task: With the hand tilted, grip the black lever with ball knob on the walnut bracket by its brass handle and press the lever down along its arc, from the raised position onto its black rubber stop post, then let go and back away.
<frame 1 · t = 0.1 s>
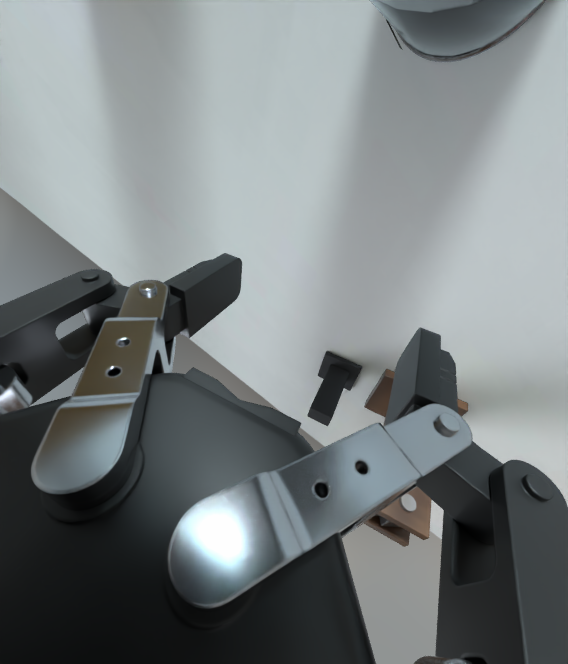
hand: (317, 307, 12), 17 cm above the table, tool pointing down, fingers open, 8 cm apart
lever with ball knob: (339, 506, 26), point 16 cm above the table, hinge at 24.0°
stop post: (339, 370, 39), on the table
lock bracket: (411, 402, 36), on the table
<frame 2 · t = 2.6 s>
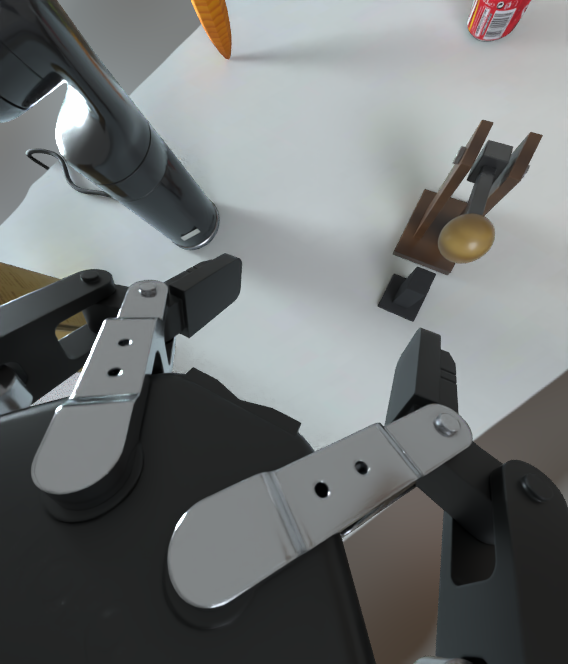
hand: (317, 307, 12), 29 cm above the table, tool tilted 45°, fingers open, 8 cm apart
lever with ball knob: (477, 199, 23), point 16 cm above the table, hinge at 24.0°
stop post: (402, 297, 38), on the table
carrot: (229, 59, 48), on the table
soda can: (488, 28, 40), on the table
food packaging: (98, 329, 48), on the table
lock bracket: (434, 233, 39), on the table
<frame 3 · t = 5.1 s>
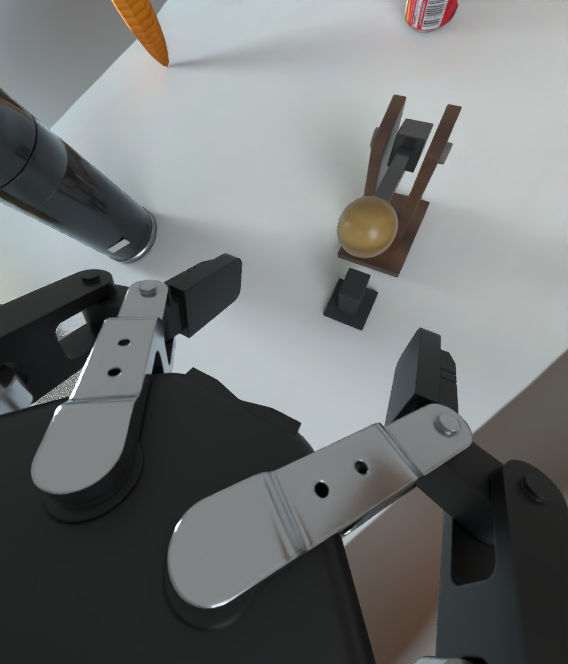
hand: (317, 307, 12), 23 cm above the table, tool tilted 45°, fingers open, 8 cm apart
lever with ball knob: (390, 183, 19), point 16 cm above the table, hinge at 24.0°
stop post: (350, 304, 35), on the table
carrot: (167, 67, 47), on the table
soda can: (428, 19, 38), on the table
lock bracket: (381, 233, 35), on the table
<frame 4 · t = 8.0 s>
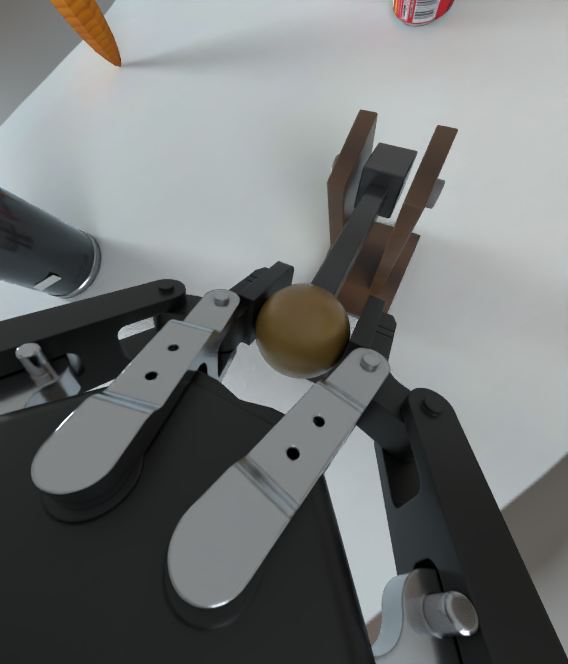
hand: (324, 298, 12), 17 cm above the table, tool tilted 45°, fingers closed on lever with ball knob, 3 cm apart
lever with ball knob: (349, 244, 13), point 16 cm above the table, hinge at 24.0°, touching gripper
carrot: (121, 67, 40), on the table
soda can: (420, 10, 32), on the table
lock bracket: (361, 270, 29), on the table
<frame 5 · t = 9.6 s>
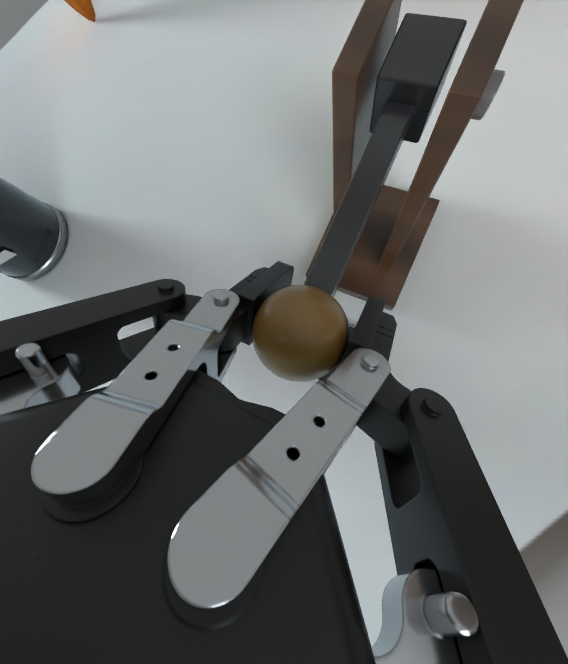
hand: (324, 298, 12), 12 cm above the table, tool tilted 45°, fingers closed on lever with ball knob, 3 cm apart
lever with ball knob: (355, 208, 10), point 14 cm above the table, hinge at 0.0°, touching gripper
carrot: (95, 22, 36), on the table
lock bracket: (369, 244, 24), on the table
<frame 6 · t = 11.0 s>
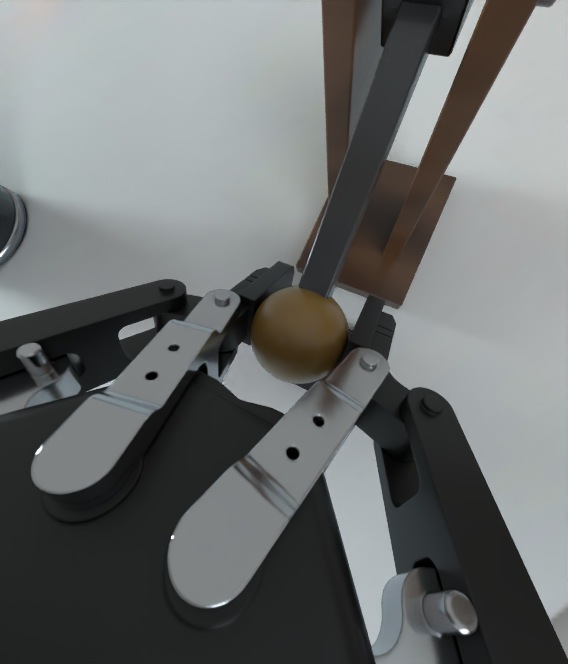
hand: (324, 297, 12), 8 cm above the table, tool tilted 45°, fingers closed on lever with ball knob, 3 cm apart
lever with ball knob: (356, 184, 9), point 12 cm above the table, hinge at -20.3°, touching gripper, stop post
lock bracket: (371, 231, 21), on the table
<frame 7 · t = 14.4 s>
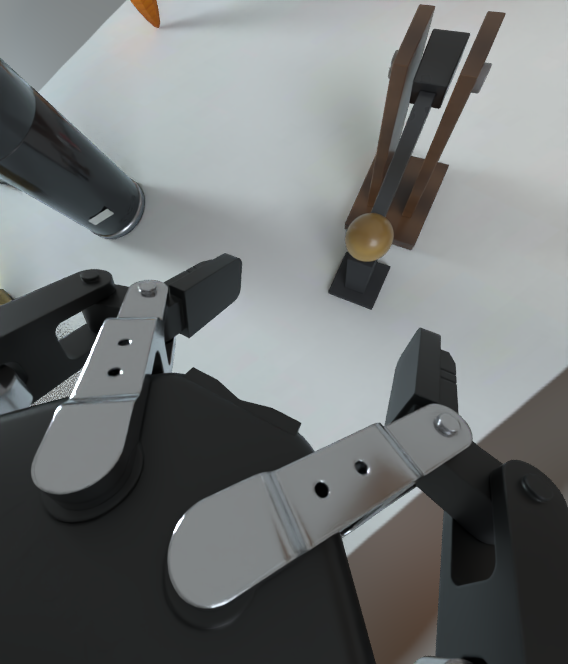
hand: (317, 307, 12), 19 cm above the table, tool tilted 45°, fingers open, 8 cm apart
lever with ball knob: (398, 164, 19), point 12 cm above the table, hinge at -20.2°
stop post: (358, 281, 31), on the table
carrot: (159, 28, 43), on the table
lock bracket: (393, 201, 31), on the table
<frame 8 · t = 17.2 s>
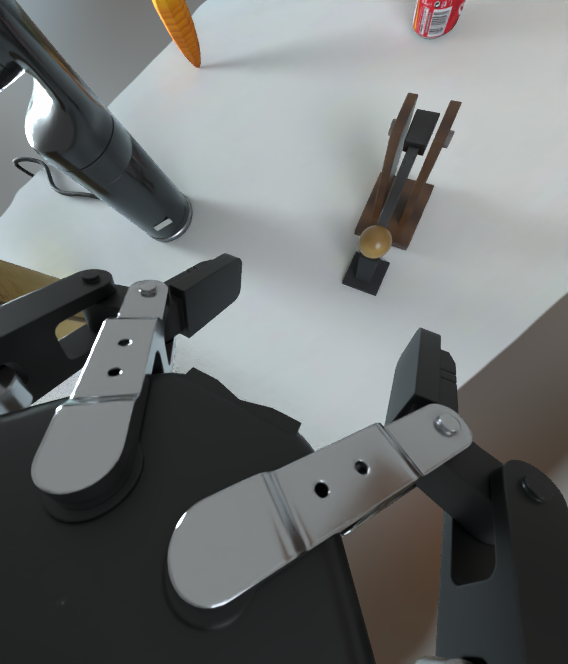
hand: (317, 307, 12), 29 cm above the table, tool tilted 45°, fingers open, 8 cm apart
lever with ball knob: (395, 192, 29), point 12 cm above the table, hinge at -20.2°
stop post: (365, 274, 40), on the table
carrot: (199, 68, 52), on the table
soda can: (432, 27, 44), on the table
food packaging: (78, 321, 49), on the table
lock bracket: (392, 212, 41), on the table
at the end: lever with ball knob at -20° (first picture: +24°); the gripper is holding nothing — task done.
